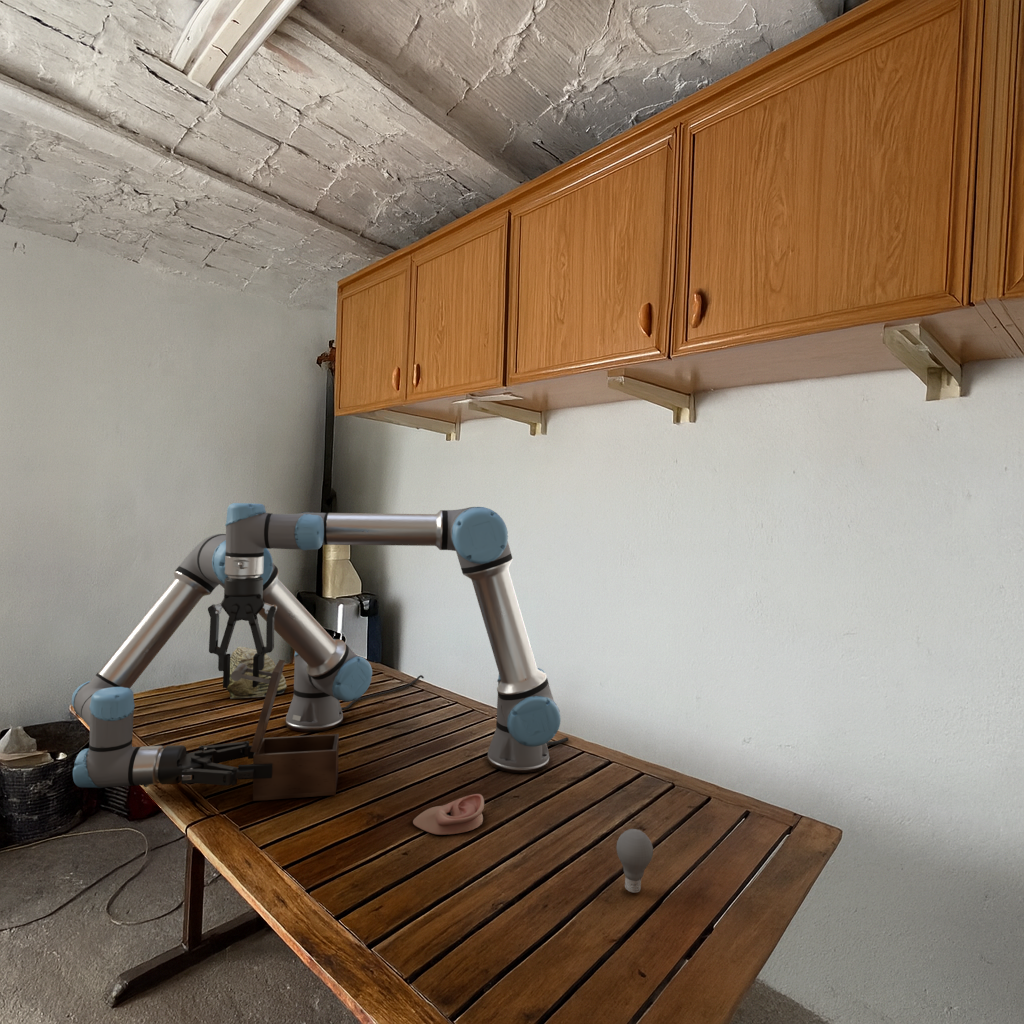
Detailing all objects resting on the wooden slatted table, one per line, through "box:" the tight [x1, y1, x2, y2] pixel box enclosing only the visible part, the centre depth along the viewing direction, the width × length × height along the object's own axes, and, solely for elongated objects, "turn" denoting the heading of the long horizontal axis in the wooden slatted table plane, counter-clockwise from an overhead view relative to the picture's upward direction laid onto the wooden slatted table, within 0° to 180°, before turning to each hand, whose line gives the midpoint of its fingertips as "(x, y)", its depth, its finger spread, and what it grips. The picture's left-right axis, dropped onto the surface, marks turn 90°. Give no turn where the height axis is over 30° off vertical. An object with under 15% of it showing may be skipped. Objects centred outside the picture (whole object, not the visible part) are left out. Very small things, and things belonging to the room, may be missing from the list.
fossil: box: [225, 646, 288, 699], centre depth 198 cm, size 9×18×15 cm, turn 132°
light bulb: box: [615, 828, 654, 894], centre depth 106 cm, size 6×6×10 cm
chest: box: [252, 733, 340, 802], centre depth 137 cm, size 16×10×10 cm, turn 102°
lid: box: [231, 659, 286, 753], centre depth 135 cm, size 17×10×9 cm
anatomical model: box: [412, 793, 485, 836], centre depth 126 cm, size 13×4×12 cm
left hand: (275, 760), depth 136 cm, fingers closed on chest, 10 cm apart
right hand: (240, 685), depth 134 cm, fingers open, 5 cm apart
